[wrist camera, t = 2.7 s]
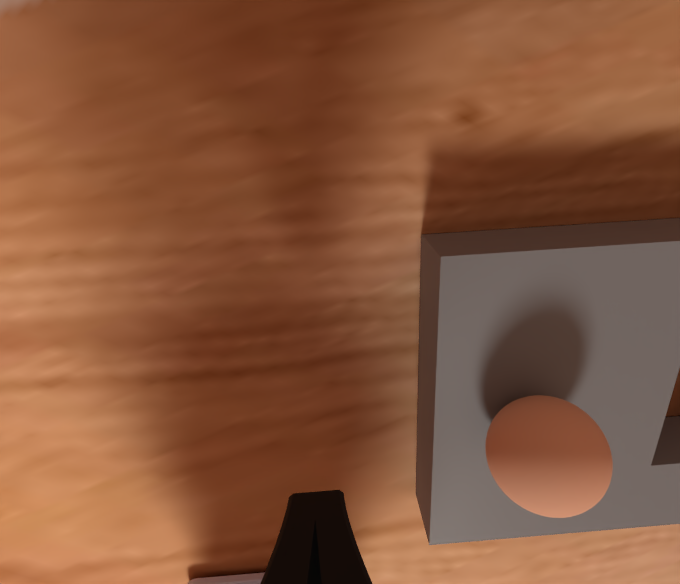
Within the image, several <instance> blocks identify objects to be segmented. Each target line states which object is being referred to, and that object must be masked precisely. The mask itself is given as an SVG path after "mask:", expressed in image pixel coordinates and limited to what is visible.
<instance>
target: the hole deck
mask: <svg viewBox="0 0 680 584" xmlns="http://www.w3.org/2000/svg"><path fill="white" fill-rule="evenodd" d="M679 369H680V218H669V219H653V220H638V221H623V222H607V223H592V224H576V225H561V226H546V227H530V228H515V229H499V230H484V231H469V232H453V233H438V234H422V235H421V271H420V319H419V366H418V414H417V462H416V496H417V500H418V504H419V508H420V511H421V515H422V519H423V523H424V527H425V530H426V534H427V538H428V542H429V545H436V544H448V543H459V542H471V541H483V540H494V539H506V538H518V537H530V536H541V535H553V534H565V533H576V532H588V531H600V530H611V529H623V528H635V527H647V526H658V525H670V524H680V416H673V417H665V416H666V413H667V409H668V406H669V403H670V399H671V396H672V392H673V389H674V386H675V382H676V379H677V375H678V372H679ZM533 395H544V396H552V397H556V398H560V399H563V400H566V401H568V402H570V403H572V404H574V405H576V406H577V407H579V408H580V409H582V410H583V411H584V412H586V413H587V414H588V415H589V416H590V417H591V418H592V419H593V420H594V421H595V422H596V423H597V425H598V426H599V427H600V429H601V430H602V432H603V433H604V435H605V437H606V439H607V441H608V444H609V447H610V450H611V455H612V461H613V471H612V478H611V482H610V485H609V487H608V489H607V491H606V493H605V495H604V496H603V498H602V499H601V500H600V501H599V502H598V503H597V504H596V505H595V506H594V507H592V508H591V509H589V510H588V511H586V512H584V513H581V514H579V515H576V516H572V517H566V518H552V517H545V516H541V515H538V514H535V513H532V512H530V511H528V510H526V509H524V508H522V507H521V506H519V505H518V504H516V503H515V502H513V501H512V500H511V499H510V498H509V497H508V496H507V495H506V494H505V493H504V492H503V491H502V490H501V488H500V487H499V486H498V485H497V483H496V481H495V479H494V478H493V476H492V474H491V471H490V469H489V466H488V463H487V458H486V449H485V443H486V437H487V432H488V429H489V426H490V424H491V422H492V420H493V419H494V417H495V416H496V415H497V413H498V412H499V411H500V410H501V409H502V408H503V407H505V406H506V405H507V404H509V403H511V402H512V401H515V400H517V399H520V398H523V397H527V396H533Z"/></svg>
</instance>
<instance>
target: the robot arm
mask: <svg viewBox="0 0 680 584" xmlns="http://www.w3.org/2000/svg"><path fill="white" fill-rule="evenodd" d="M188 584H372V582H371V579H370V577H369V575H368V572H367V570H366V567H365V565H364V562H363V560H362V557H361V554H360V552H359V549H358V546H357V544H356V541H355V538H354V535H353V532H352V528H351V525H350V522H349V518H348V514H347V510H346V506H345V500H344V493H343V492H341V491H340V490H333V491H320V492H308V493H295V494H292V495H291V496H290V497H289V500H288V505H287V509H286V513H285V517H284V520H283V524H282V527H281V530H280V533H279V536H278V539H277V542H276V545H275V548H274V550H273V553H272V555H271V558H270V561H269V563H268V566H267V568H266V571H265V572H263V573H251V574H240V575H228V576H217V577H205V578H195V579H192V580H190V581H189V582H188Z"/></svg>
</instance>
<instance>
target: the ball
mask: <svg viewBox="0 0 680 584" xmlns="http://www.w3.org/2000/svg"><path fill="white" fill-rule="evenodd" d="M485 449H486V458H487V463H488V466H489V469H490V471H491V474H492V476H493V478H494V479H495V481H496V483H497V485H498V486H499V487H500V488H501V490H502V491H503V492H504V493H505V494H506V495H507V496H508V497H509V498H510V499H511V500H512V501H513V502H515V503H516V504H518V505H519V506H521V507H522V508H524V509H526V510H528V511H530V512H532V513H535V514H538V515H541V516H545V517H552V518H566V517H572V516H576V515H579V514H581V513H584V512H586V511H588V510H589V509H591V508H592V507H594V506H595V505H596V504H597V503H598V502H599V501H600V500H601V499H602V498H603V496H604V495H605V493H606V491H607V489H608V487H609V485H610V482H611V478H612V471H613V461H612V455H611V450H610V447H609V444H608V441H607V439H606V437H605V435H604V433H603V432H602V430H601V429H600V427H599V426H598V425H597V423H596V422H595V421H594V420H593V419H592V418H591V417H590V416H589V415H588V414H587V413H586V412H584V411H583V410H582V409H580V408H579V407H577V406H576V405H574V404H572V403H570V402H568V401H566V400H563V399H560V398H556V397H552V396H544V395H533V396H527V397H523V398H520V399H517V400H515V401H512V402H511V403H509V404H507V405H506V406H505V407H503V408H502V409H501V410H500V411H499V412H498V413H497V415H496V416H495V417H494V419H493V420H492V422H491V424H490V426H489V429H488V432H487V437H486V443H485Z"/></svg>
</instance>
